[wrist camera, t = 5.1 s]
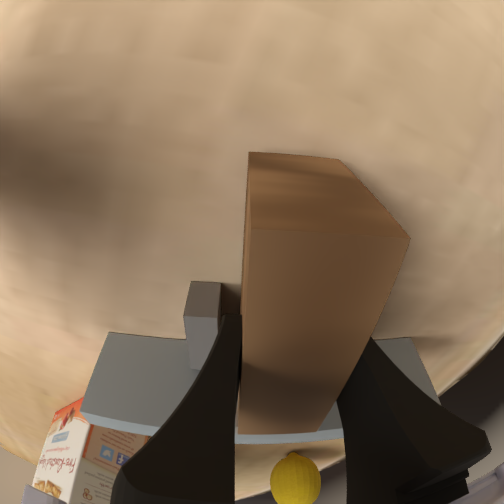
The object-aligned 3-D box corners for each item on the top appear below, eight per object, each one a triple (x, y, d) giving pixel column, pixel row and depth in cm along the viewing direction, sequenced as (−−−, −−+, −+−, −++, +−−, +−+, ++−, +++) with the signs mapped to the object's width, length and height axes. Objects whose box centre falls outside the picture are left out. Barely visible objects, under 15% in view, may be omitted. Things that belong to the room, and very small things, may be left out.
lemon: (261, 458, 29) (263, 516, 22) (280, 443, 26) (286, 510, 20) (302, 459, 30) (308, 514, 23) (325, 444, 28) (334, 505, 21)
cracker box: (98, 380, 20) (54, 605, 2) (155, 413, 23) (134, 619, 5) (51, 409, 25) (15, 555, 7) (93, 433, 27) (68, 574, 9)
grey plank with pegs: (114, 347, 18) (89, 423, 13) (90, 274, 15) (42, 358, 9) (402, 351, 19) (430, 419, 14) (436, 285, 16) (483, 358, 10)
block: (237, 336, 16) (235, 435, 11) (246, 151, 11) (245, 228, 6) (302, 337, 16) (317, 432, 11) (341, 159, 11) (414, 238, 6)
